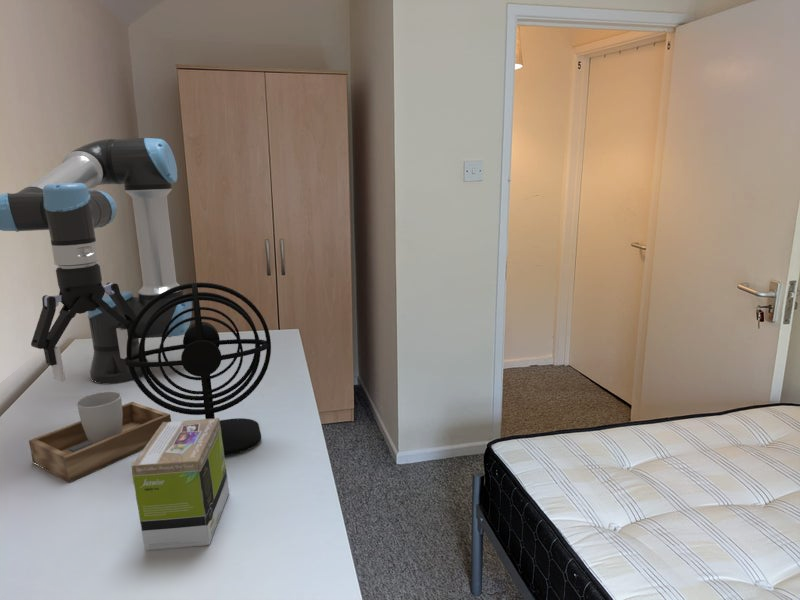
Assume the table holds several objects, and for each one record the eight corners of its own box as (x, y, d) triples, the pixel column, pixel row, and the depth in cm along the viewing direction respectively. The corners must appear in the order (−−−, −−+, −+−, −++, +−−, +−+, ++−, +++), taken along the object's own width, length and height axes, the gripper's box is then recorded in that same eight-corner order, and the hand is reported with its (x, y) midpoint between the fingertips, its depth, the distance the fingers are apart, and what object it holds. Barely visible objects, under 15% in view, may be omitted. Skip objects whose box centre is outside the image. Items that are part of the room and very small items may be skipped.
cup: (135, 435, 123) (129, 391, 121) (113, 454, 115) (106, 407, 113) (99, 434, 124) (92, 391, 121) (75, 453, 116) (67, 407, 114)
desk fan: (136, 478, 108) (110, 296, 100) (144, 438, 124) (123, 278, 116) (282, 452, 116) (268, 282, 108) (272, 418, 132) (259, 268, 124)
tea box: (172, 497, 101) (162, 419, 98) (230, 493, 102) (222, 415, 98) (142, 552, 86) (129, 463, 83) (210, 547, 87) (200, 458, 84)
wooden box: (33, 463, 114) (28, 440, 113) (135, 422, 132) (132, 401, 131) (70, 482, 107) (66, 458, 106) (173, 435, 125) (170, 414, 123)
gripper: (16, 278, 99) (38, 393, 104) (147, 256, 119) (160, 353, 124) (-4, 274, 103) (18, 385, 108) (126, 253, 123) (139, 348, 128)
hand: (94, 368), depth 116 cm, fingers open, 13 cm apart
